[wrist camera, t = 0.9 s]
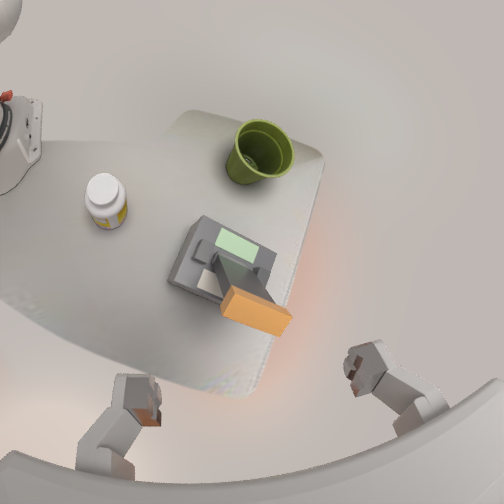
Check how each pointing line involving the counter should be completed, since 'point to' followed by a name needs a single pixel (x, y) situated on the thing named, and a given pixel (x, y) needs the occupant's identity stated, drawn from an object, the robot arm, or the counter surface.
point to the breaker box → (201, 254)
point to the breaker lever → (247, 297)
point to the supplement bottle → (106, 200)
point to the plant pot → (260, 152)
